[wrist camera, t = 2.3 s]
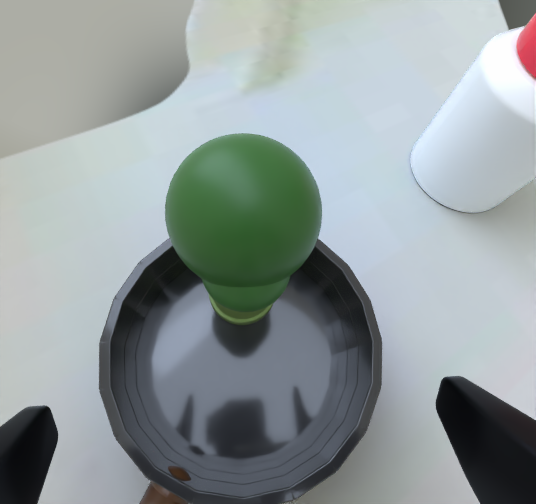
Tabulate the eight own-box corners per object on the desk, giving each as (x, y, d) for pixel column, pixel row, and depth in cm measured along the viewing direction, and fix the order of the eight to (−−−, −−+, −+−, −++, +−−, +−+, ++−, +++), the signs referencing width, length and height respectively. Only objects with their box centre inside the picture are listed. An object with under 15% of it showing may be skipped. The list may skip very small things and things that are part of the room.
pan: (299, 533, 17) (318, 579, 13) (80, 407, 18) (33, 412, 14) (381, 304, 22) (415, 284, 18) (203, 218, 23) (195, 180, 19)
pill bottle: (518, 216, 25) (708, 98, 15) (417, 209, 25) (542, 83, 14) (495, 133, 28) (640, -13, 18) (404, 126, 28) (500, -29, 17)
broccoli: (289, 341, 20) (358, 273, 8) (198, 346, 19) (138, 282, 8) (280, 244, 22) (325, 84, 11) (199, 246, 22) (153, 81, 10)
